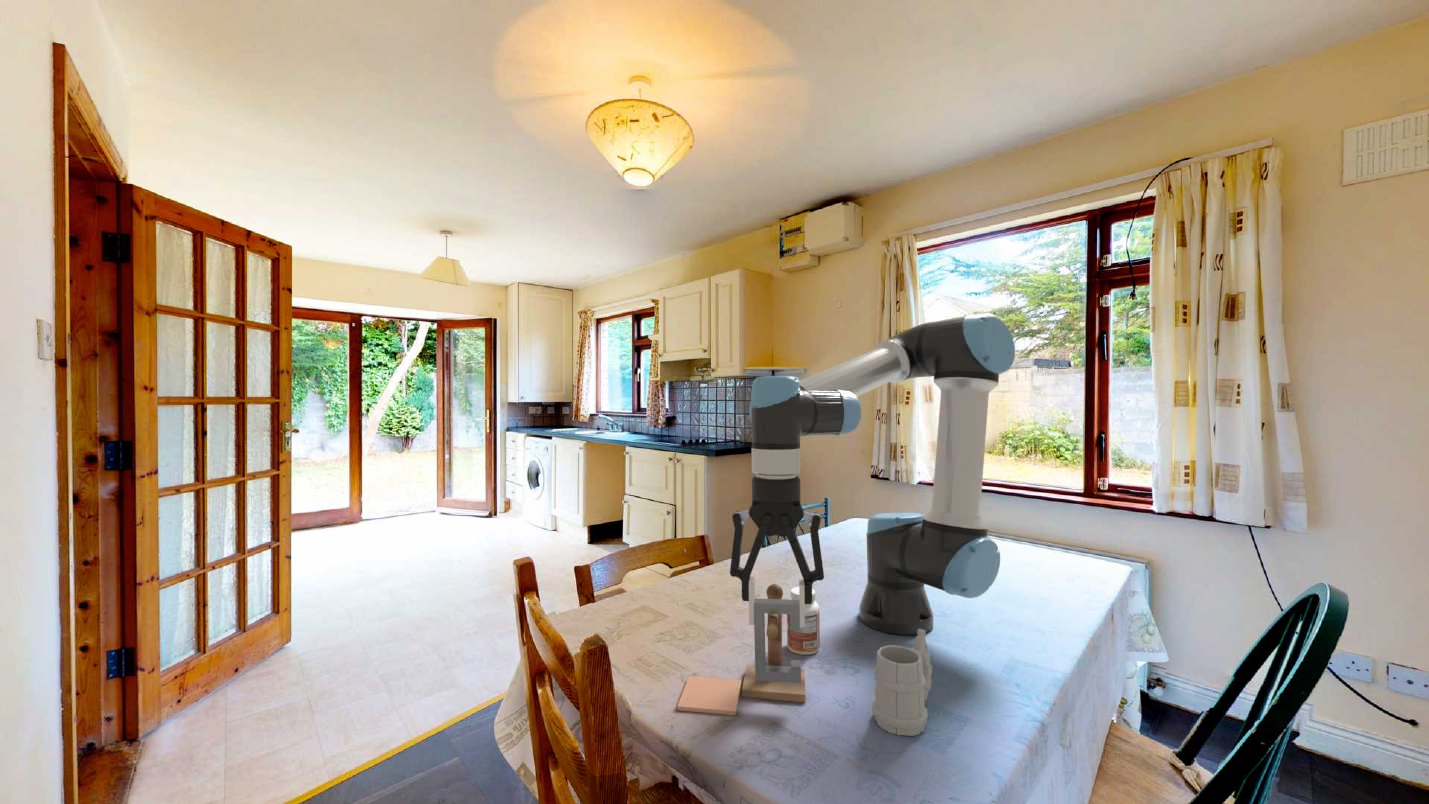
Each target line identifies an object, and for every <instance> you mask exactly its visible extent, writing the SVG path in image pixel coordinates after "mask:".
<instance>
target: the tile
mask: <svg viewBox="0 0 1429 804" xmlns="http://www.w3.org/2000/svg"><path fill="white" fill-rule="evenodd" d="M742 681H743V680H741V679H728V678H717V677H703V676H691V675H688V677H687V680H686V683H685V684H684V685H685V686H684V688H683V691H682V693H681V694H680V695H681V696H680V699H679V700H678V704H676V705H677V706H676V710H677V711H681V712H694V713H703V714H704V713H707V714H717V715H726V716H727V715H728V716H736V714H737V709H738V705H739V700H740V693H741V690H742V685H743V682H742Z"/></svg>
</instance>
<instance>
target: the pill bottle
mask: <svg viewBox="0 0 1429 804" xmlns="http://www.w3.org/2000/svg"><path fill="white" fill-rule="evenodd" d="M816 594H817V593H816V590H815V589H814V588H812V603H811V604H805V628H800V631H790V614H786V621H787V622H786V627H787V629H786V631H787V632H786V633H787V634H786V638H787V639H786V643H787V647H788V649H789V650H790V652H792V653H794V654H797V655H802V656H803V655H805V656H809V655H814V654H816V653H817V652H818V651H819V650H820V644H821V642H820V640H821V639H820V634H821V633H820V605H819V604H818V602H816V598H817V597H816V596H817V595H816ZM790 598H791V599H790V600H799V586H795V587H793V588H791V590H790Z"/></svg>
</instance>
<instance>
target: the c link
mask: <svg viewBox="0 0 1429 804" xmlns="http://www.w3.org/2000/svg"><path fill="white" fill-rule="evenodd" d="M768 613H771V614H782V615H787V614H790V631H800V608H799V600H792V599H784V598H782V599H768V598H756V597H755V600H754V625H753V629H754V632H753V635H754V666H755V681H766V682H784V683H801V669H802V662H801V661H802V660H793V659H791V660H790V666H786V665H782V666H770V665H768V664H767V663H766V626H765V625H766V623H765V614H768Z"/></svg>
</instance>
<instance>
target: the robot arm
mask: <svg viewBox="0 0 1429 804" xmlns="http://www.w3.org/2000/svg"><path fill="white" fill-rule="evenodd" d="M1015 355H1016V349H1015V342H1014V338H1013V334H1012V333H1011V331H1010V329H1009V327H1008V326H1007V324H1006V323H1005V322H1004V321H1003V320H1002V319H1001V318H1000V317H999V316H996V315H995V314H991V313H982V314H967V315H965V316H961V317H955V318H950V319H943V320H936V321H929V322H924V323H922V324H918V325H915V326H913V327H910V328H909V329H907V330H904V331H901V332H899V333H897V334H895V335H892V336H891V337H889V338H886V339H884V340H882V341H880V342H878V343H877V344H876V345H875V347H874V349H873V350H869V351H868V352H866V353H863V354H861V355H859V356H856V357H854V358H852V359H849V360H846V361H844V362H842V363H840V364H837V365H835V366H833V367H830V368H828V369H826V370H823V371H821V372H819V373H816V374H814V375H811V376H809V377H807V378H803V379H801V380H800V379H799V378H798V377H797V376H793V375H792V376H791V375H790V376H789V375H767V376H758V377H756V378H755V379H754V380H753V382H752V385H751V392H750V393H751V395H750V396H751V399H750V404H749V407H748V413H749V414H748V415H749V418H750V421H751V472H752V473H753V474H754V476H753V477H752V478H751V505H750V507H749V509H747V510H743V511H742V510H741V511H740V510H735V511H734V512H733V514H732V517H731V518H732V521H733V522H732V523H733V527H734V534H733V541H732V551H731V560H730V568H729V575H730V576H731V577H732V578H733V577H735V578H738V579H739V580H740V581H741V599H742V601H743V602H748V625H749V626H750V625H751V626H754V600H755V598H756V578H755V576H751V574H752V572H753V569H754V568H755V567H754V566H755V564H756V562H757V560H758V559H757V558H758V556H759V553H760V550H761V548H762V545H763V543H764V541H765V538H766V537H773V536H778V537H782V538H783V537H786V538H787V541H788V544H789V545H790V547H791V550H792V553H793V555H794V556H793V557H794V558H795V561H796V563H797V566H798V569H799V571H800V574H801V576H802V578H799V579H798V581H799V583H798V584H799V586H798V587H799V608H800V628H805V604H811V603H812V589H813V584H814V583H815V582H817V581H820V582H821V581H823V580H824V578H825V575H824V573H825V572H824V567H823V558H822V549H821V543H820V535H819V531H820V530H819V529H820V525H821V522H822V521H821V520H822V519H821V515H820V513H819V512H808V511H804V509H803V507H802V504H801V503H802V502H801V479H800V477H799V476H798V475H799V474H800V472H801V437H806V436H829V435H830V436H839V435H846V434H850V433H852V432H854V431H855V430H856V429H857V428H858V426H859V424H860V422H861V420H862V405H861V402H860V400H859V398H858V397H860V396H862V395H865V394H867V393H868V392H871V391H873V390H875V389H877V388H879V387H882V386H884V385H886V384H888V383H891V384H898V383H901V382H904V381H905V380H910V379H916V378H917V379H918V378H924V377H926V378H927V377H929V378H930V377H933V383H934V384H935V386H937V387H938V388H939V390H940V402H939V413H938V423H937V424H938V425H937V438H936V449H935V451H936V452H935V463H934V474H933V475H934V476H933V477H934V478H933V487H932V500H931V509H930V510H929V512H927V513H925V514H924V515H923V514H922V513H918V512H886V513H877V514H874V515H872V516H870V518H868V521H867V530H866V558H867V559H866V560H867V561H866V562H867V583H866V584H865V587H864V588H865V589H864V592H863V595H862V598H861V599H860V600H861V601H860V604H859V609H858V610H859V616H858V617H859V619H860V621H861V622H862V623H863V624H864V625H866V626H868V627H870V628H872V629H874V630H877V631H880V632H883V633H887V634H892V635H898V636H899V635H901V636H917V635H918V633H917V631H918V629H922V630H925V631H926V633H928V632H930V631H931V630H932V629H933V628H934V613H933V610H932V607H931V604H930V602H929V598H928V595H927V593H926V592H927V591H926V588H925V585H926V586H929V587H931V588H934V589H938V590H940V591H944V592H945V593H947V594H949V595H952V596H953V595H955V596H959V597H963V598H966V599H974V598H978V597H981V596H982V595H984V594H985V593H986V592H987V591H988V590H989V588H990V587H991V586H992V585H993V584H994V582H995V580H996V579H997V576H998V573H999V570H1000V565H1001V552H1000V550H999V546H998V544H997V543H996V542H995V541H993V540H992V539H991V538H989V537H988V533H989V532H988V531H989V527H988V525H987V524H986V522H985V521H984V520H983V519H982V518H981V504H982V503H981V502H982V490H983V478H984V477H983V476H984V463H985V462H984V461H985V452H986V451H985V448H986V438H987V436H986V435H987V425H988V424H987V423H988V410H989V408H988V407H989V397H990V396H989V395H990V393H991V392H992V391H993V390H994V389H995V388H996V387H998V386H999V378H1000V375H1001V374H1004V373H1006V372H1007V371H1009V370H1010V369H1011V368H1012V366H1013V364H1014V362H1015V357H1016V356H1015ZM749 518H750V520H752V521H753V523H754V525H755V526H756V527H757V529H758V530H757V533H756V536H755V539H754V541H753V544H752V547H751V549H750V552H749V555H748V556H747V560H746V563H745V565H744V568H743V567H740V565H741V555H742V547H743V538H744V529H745V528H744V527H745V526H746V525H747V523H748V520H749ZM802 520H804V521H805V525H806V527H807V528H809V533H810V540H811V541H810V542H811V547H812V548H811V550H812V556H813V563H814V569H813V570H810V567H809V565H808V562H807V560H806V556H805V554H804V552H803V549H802V546H801V544H800V542H799V538H798V535H797V532H796V530H795V529H796V527H797V526H798V525H799V523H800V522H801V521H802Z"/></svg>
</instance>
